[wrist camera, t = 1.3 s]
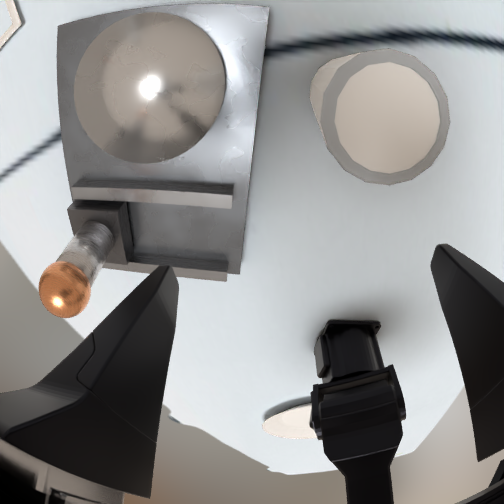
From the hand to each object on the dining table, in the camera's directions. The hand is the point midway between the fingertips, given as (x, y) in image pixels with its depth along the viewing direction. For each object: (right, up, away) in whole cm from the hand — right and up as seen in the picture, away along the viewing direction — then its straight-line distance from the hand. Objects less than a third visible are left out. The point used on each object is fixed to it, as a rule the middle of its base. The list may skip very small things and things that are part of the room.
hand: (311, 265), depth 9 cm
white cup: (+5, +11, +8) cm, 14 cm away
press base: (-9, +8, +10) cm, 16 cm away
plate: (+10, -30, +40) cm, 51 cm away
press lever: (-13, +3, +12) cm, 18 cm away
